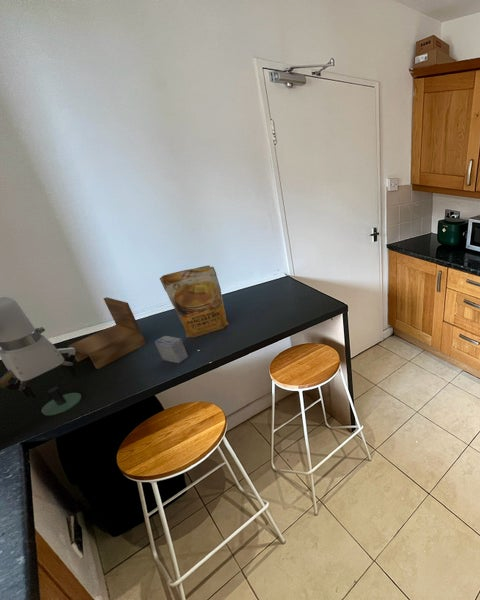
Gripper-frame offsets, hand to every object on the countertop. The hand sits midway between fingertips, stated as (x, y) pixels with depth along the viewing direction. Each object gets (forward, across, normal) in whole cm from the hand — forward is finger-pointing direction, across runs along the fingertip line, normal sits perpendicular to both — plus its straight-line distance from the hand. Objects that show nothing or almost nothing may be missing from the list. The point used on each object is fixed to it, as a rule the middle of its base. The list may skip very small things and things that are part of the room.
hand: (53, 385), depth 95 cm
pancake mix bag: (+8, -47, +5) cm, 48 cm away
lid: (+7, +1, 0) cm, 7 cm away
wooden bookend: (+8, -22, -16) cm, 28 cm away
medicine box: (+8, -28, +11) cm, 31 cm away
